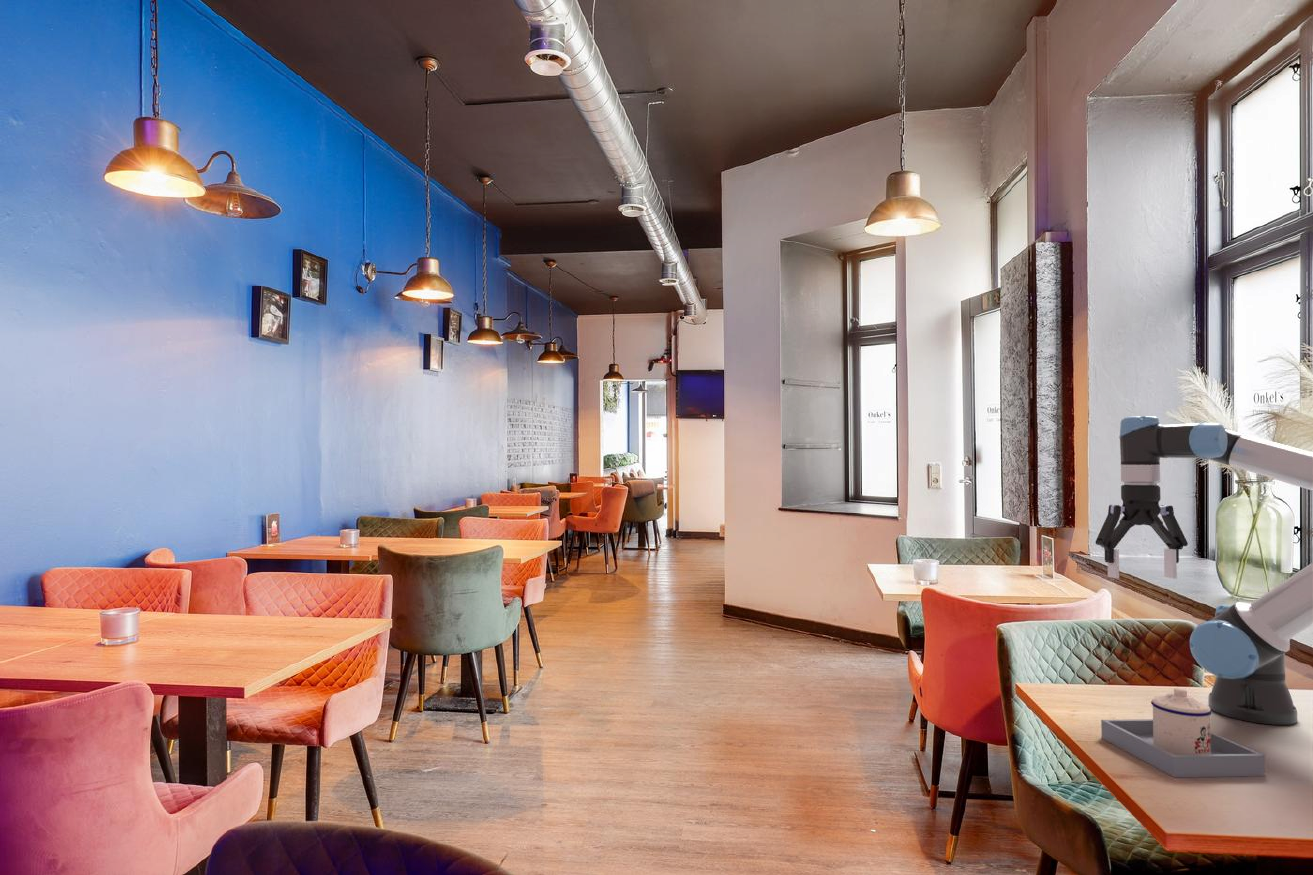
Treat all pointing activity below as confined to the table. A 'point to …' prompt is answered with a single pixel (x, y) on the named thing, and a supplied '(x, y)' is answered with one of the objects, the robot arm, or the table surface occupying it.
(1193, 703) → the teacup with lid
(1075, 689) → the table surface
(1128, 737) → the tray
